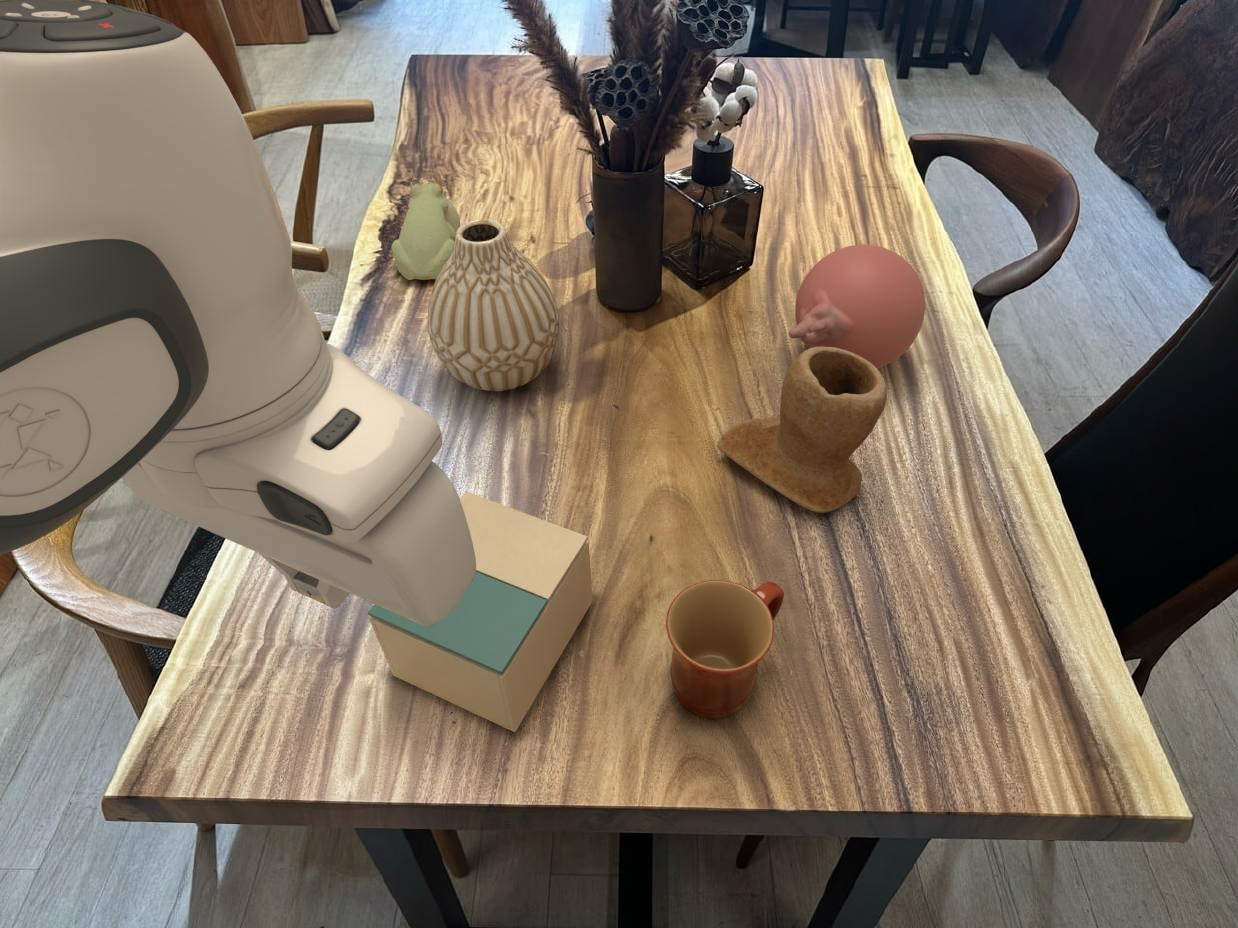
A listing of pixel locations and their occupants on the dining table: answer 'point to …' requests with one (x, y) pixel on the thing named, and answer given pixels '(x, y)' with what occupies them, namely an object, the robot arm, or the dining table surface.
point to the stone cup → (813, 429)
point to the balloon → (861, 304)
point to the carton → (529, 563)
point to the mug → (719, 643)
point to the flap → (478, 622)
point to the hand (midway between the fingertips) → (324, 590)
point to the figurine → (426, 233)
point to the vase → (491, 311)
